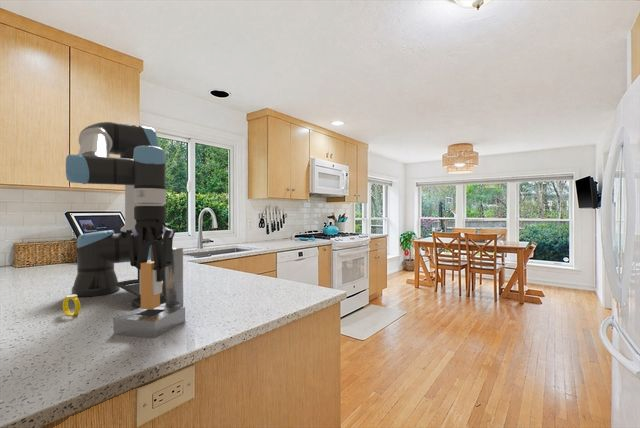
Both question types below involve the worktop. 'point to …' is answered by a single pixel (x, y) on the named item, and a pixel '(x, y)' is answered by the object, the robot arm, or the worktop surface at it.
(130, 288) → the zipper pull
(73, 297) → the watch
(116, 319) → the grey l-shaped piece
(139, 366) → the worktop surface
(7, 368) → the worktop surface
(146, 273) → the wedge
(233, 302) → the worktop surface
